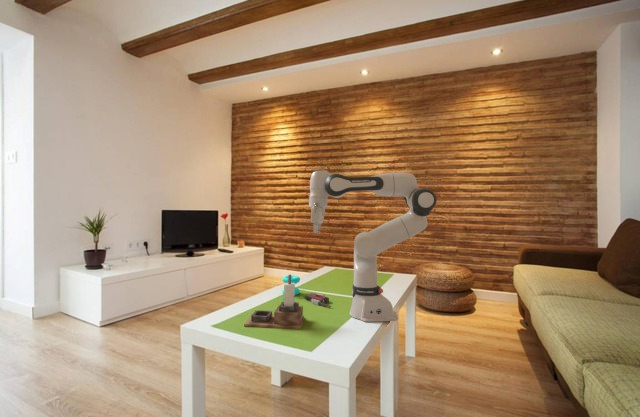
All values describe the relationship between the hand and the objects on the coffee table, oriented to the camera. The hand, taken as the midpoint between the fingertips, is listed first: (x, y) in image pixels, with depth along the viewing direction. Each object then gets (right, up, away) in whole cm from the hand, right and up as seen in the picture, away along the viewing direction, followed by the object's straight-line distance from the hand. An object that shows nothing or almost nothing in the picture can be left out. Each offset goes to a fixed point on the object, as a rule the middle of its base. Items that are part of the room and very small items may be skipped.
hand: (316, 232), depth 151 cm
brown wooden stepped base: (-18, -38, -12) cm, 44 cm away
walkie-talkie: (+2, -39, +17) cm, 43 cm away
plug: (-12, -33, -12) cm, 37 cm away
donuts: (-15, -38, +32) cm, 52 cm away
